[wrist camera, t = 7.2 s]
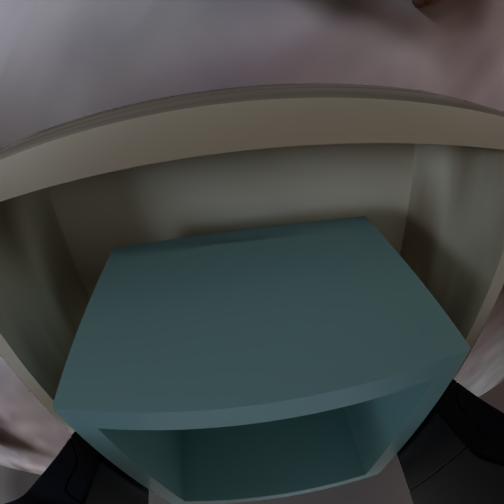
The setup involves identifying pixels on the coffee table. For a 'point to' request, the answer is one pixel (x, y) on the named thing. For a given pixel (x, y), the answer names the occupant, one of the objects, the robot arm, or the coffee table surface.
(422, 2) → the brown leather pouch belt
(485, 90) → the coffee table surface
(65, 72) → the coffee table surface
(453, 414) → the robot arm
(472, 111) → the big crate
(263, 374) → the small crate
